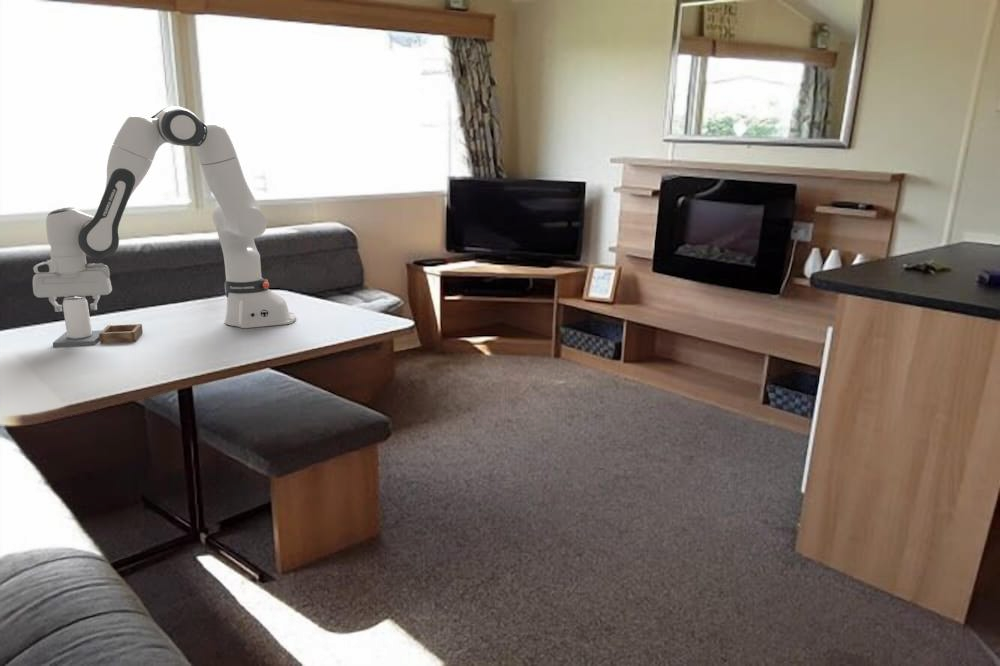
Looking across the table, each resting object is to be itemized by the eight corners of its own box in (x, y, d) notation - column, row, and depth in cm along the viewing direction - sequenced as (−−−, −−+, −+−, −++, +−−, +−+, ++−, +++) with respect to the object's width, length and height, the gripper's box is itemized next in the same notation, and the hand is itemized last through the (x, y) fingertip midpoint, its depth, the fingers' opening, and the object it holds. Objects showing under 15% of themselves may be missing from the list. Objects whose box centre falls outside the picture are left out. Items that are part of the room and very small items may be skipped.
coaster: (105, 333, 227) (105, 330, 227) (94, 344, 216) (94, 340, 215) (66, 335, 224) (65, 332, 224) (53, 346, 213) (52, 342, 213)
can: (96, 333, 222) (91, 295, 219) (83, 339, 216) (77, 300, 213) (76, 333, 223) (71, 294, 220) (62, 338, 217) (56, 299, 214)
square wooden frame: (142, 333, 228) (141, 323, 227) (135, 341, 219) (134, 332, 218) (109, 334, 226) (107, 325, 225) (100, 343, 217) (99, 333, 216)
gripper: (111, 261, 219) (117, 306, 223) (34, 263, 215) (42, 309, 218) (105, 265, 213) (112, 311, 217) (26, 267, 209) (34, 314, 212)
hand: (76, 310), depth 218 cm, fingers open, 8 cm apart
